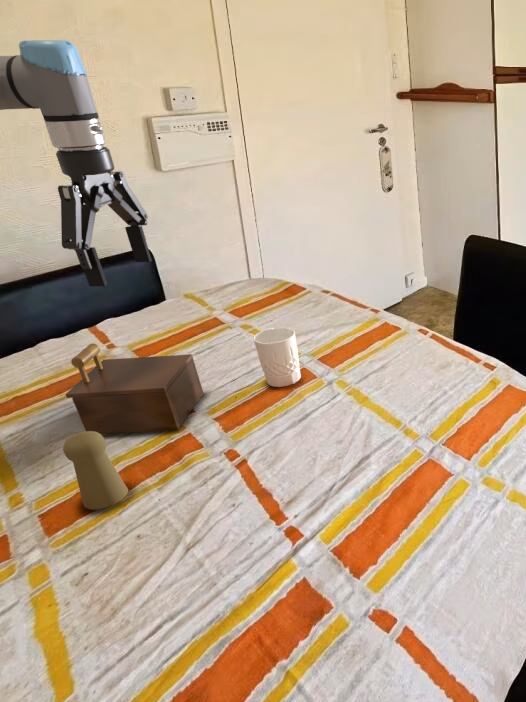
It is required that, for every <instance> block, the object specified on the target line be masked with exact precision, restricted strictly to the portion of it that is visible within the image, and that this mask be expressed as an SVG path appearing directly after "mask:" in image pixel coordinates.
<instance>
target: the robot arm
mask: <svg viewBox="0 0 526 702" xmlns="http://www.w3.org/2000/svg"><path fill="white" fill-rule="evenodd" d="M18 47H19V54H17V55H16V54H15V55H0V111H4V110H26V109H27V110H28V109H33V110H36V109H38V110H40V112H41V115H42V117H43V120H44V125H45V127H46V129H47V133H48V136H49V139H50V142H51V145H52V147H53V148H56V149H58V150H56V153H55V156H56V159H57V161H58V164H59V167H60V171H61V173H62V174H63V175H65V176H67V177H69V178H70V180H71V185H64V184H63V185H57V190H58V195H59V198H60V199H59V200H60V212H61V213H60V217H61V218H60V221H61V222H60V226H61V227H60V230H61V247H62V248H63V249H66V250H74V252H75V253H76V257H77V259H78V262H79V266H80V268H82V270H83V272H84V275H85V278H86V281H87V284H88V286H89V287H106V286H108V282H107V279H106V276H105V274H104V270H103V267H102V264H101V261H100V259H99V255H98V253H97V250H96V247H91V245H92V239H93V232H94V227H95V220H96V214H97V213H98V212H99V211H100V208H102V207H105V205H107V206H108V207H109V208H110V209H111V210H112V211H113V212H114V213H115V214H116V215H117V216H118V217H119V218H120V219H121V220H122V221H123V222H124V223H125V224H126V225H127V226H125V227H124V229H125V231H126V232H125V233H126V235H127V239H128V242H129V246H130V248H131V252H132V255H133V259H134V261H135V262H136V263H150V262H152V261H153V260H152V256H151V253H150V250H149V246H148V243H147V239H146V235H145V232H144V229H143V226H148V217H149V216H148V214H147V211H146V210H145V209H144V207H143V206H142V204H141V203H140V201H139V199H138V198H137V196H136V195H135V193H134V192H133V190H132V189H131V187H130V185H129V183H128V182H127V179H126V176H125V173H124V172H123V171H114V170H115V163H114V161H113V158H112V154H111V151H110V149H109V148H108V147H106V146H104V145H105V144H106V143H107V138H106V136H105V133H104V129H103V126H102V123H101V120H100V116H99V113H98V111H97V106H96V104H95V100H94V97H93V93H92V90H91V86H90V82H89V79H88V76H87V75H88V72H87V69H85V67H84V63H83V61H82V58H81V56H80V53H79V50H78V47H76V45H75V44H74V43H73V42H71V41H70V40H64V39H38V40H37V39H36V40H34V39H33V40H21V41H20V42H19V43H18Z"/></svg>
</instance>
